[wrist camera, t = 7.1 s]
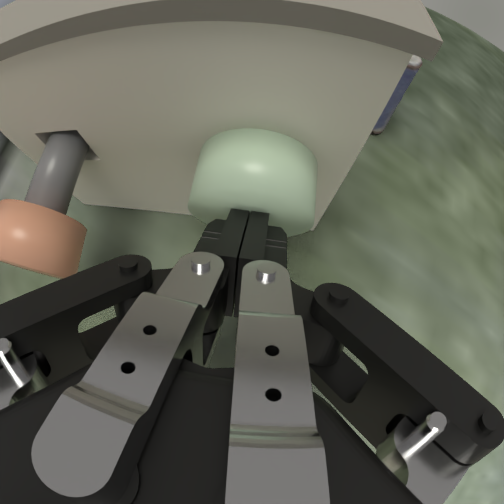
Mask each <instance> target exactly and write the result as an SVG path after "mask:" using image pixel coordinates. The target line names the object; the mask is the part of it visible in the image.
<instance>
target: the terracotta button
mask: <svg viewBox="0 0 504 504" xmlns="http://www.w3.org/2000/svg"><path fill="white" fill-rule="evenodd" d="M89 147H90V146H89V145H88V144H87V143H86V141H85V140H84V139H83V138H82V136H81V135H80V134H79V132H78V131H77V130H67V131H54V132H52V133H51V135H50V137H49V139H48V141H47V144H46V146H45V148H44V150H43V153H42V155H41V158H40V160H39V163H38V165H37V168H36V170H35V173H34V175H33V178H32V181H31V184H30V186H29V189H28V192H27V195H26V198H25V201H20V200H13V199H5V200H1V201H0V261H1V262H4V263H7V264H10V265H13V266H16V267H20V268H23V269H26V270H30V271H33V272H37V273H40V274H44V275H48V276H52V277H56V278H60V279H63V278H66V277H68V276H71V275H73V274H76V273H77V271H78V267H79V262H80V257H81V253H82V249H83V244H84V240H85V236H86V232H87V229H86V228H85V227H84V226H83V225H82V224H81V223H79V222H78V221H76V220H74V219H72V218H71V217H69V216H66V213H67V210H68V207H69V203H70V200H71V197H72V194H73V191H74V188H75V185H76V182H77V179H78V176H79V173H80V170H81V168H82V165H83V162H84V160H85V157H86V154H87V152H88V149H89Z"/></svg>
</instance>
